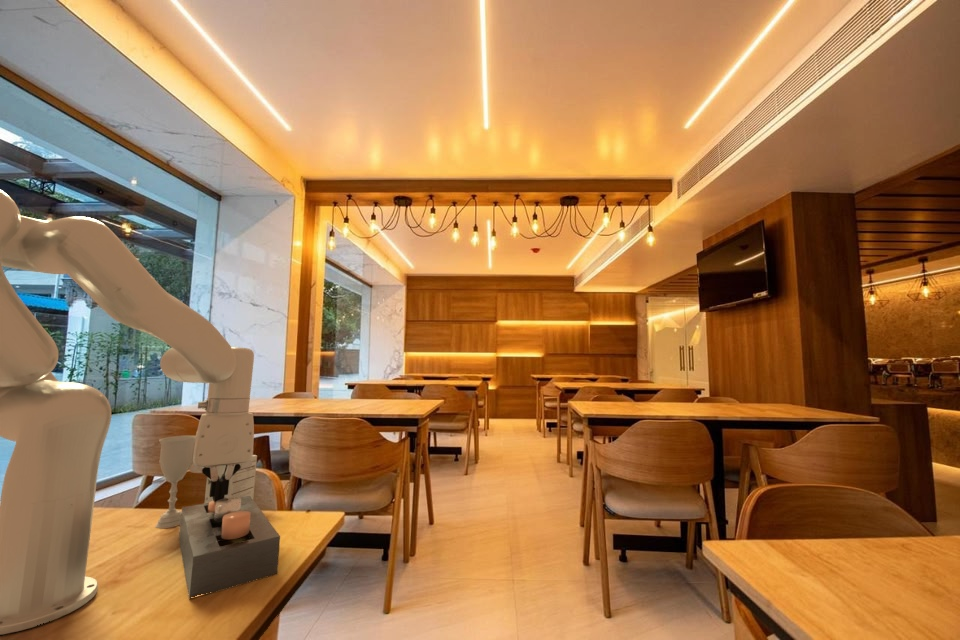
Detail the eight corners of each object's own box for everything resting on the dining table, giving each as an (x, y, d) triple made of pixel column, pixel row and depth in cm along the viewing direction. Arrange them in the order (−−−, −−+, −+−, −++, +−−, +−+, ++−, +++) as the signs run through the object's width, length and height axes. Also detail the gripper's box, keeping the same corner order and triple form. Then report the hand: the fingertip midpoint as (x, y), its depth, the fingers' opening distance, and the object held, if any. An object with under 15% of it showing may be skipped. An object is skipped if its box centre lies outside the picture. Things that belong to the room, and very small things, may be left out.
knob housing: (189, 599, 59) (193, 556, 60) (178, 538, 79) (181, 507, 80) (277, 573, 67) (280, 536, 67) (247, 524, 87) (249, 495, 87)
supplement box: (201, 514, 92) (207, 458, 93) (230, 504, 99) (234, 451, 100) (226, 518, 90) (231, 460, 91) (254, 507, 97) (258, 454, 98)
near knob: (223, 541, 64) (224, 521, 64) (219, 533, 67) (221, 514, 67) (251, 535, 67) (252, 516, 67) (246, 527, 70) (248, 509, 70)
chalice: (172, 530, 83) (181, 441, 85) (140, 529, 83) (149, 441, 85) (197, 517, 90) (205, 435, 92) (168, 516, 90) (176, 435, 92)
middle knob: (215, 523, 71) (217, 506, 71) (212, 516, 74) (214, 500, 74) (241, 518, 73) (242, 501, 74) (237, 512, 76) (239, 495, 77)
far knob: (208, 522, 77) (209, 506, 78) (206, 516, 81) (207, 501, 81) (232, 518, 80) (233, 502, 80) (229, 512, 83) (230, 497, 83)
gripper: (185, 409, 75) (172, 512, 73) (272, 407, 84) (263, 498, 82) (182, 406, 81) (170, 501, 78) (264, 404, 90) (255, 489, 88)
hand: (218, 499), depth 80 cm, fingers closed
